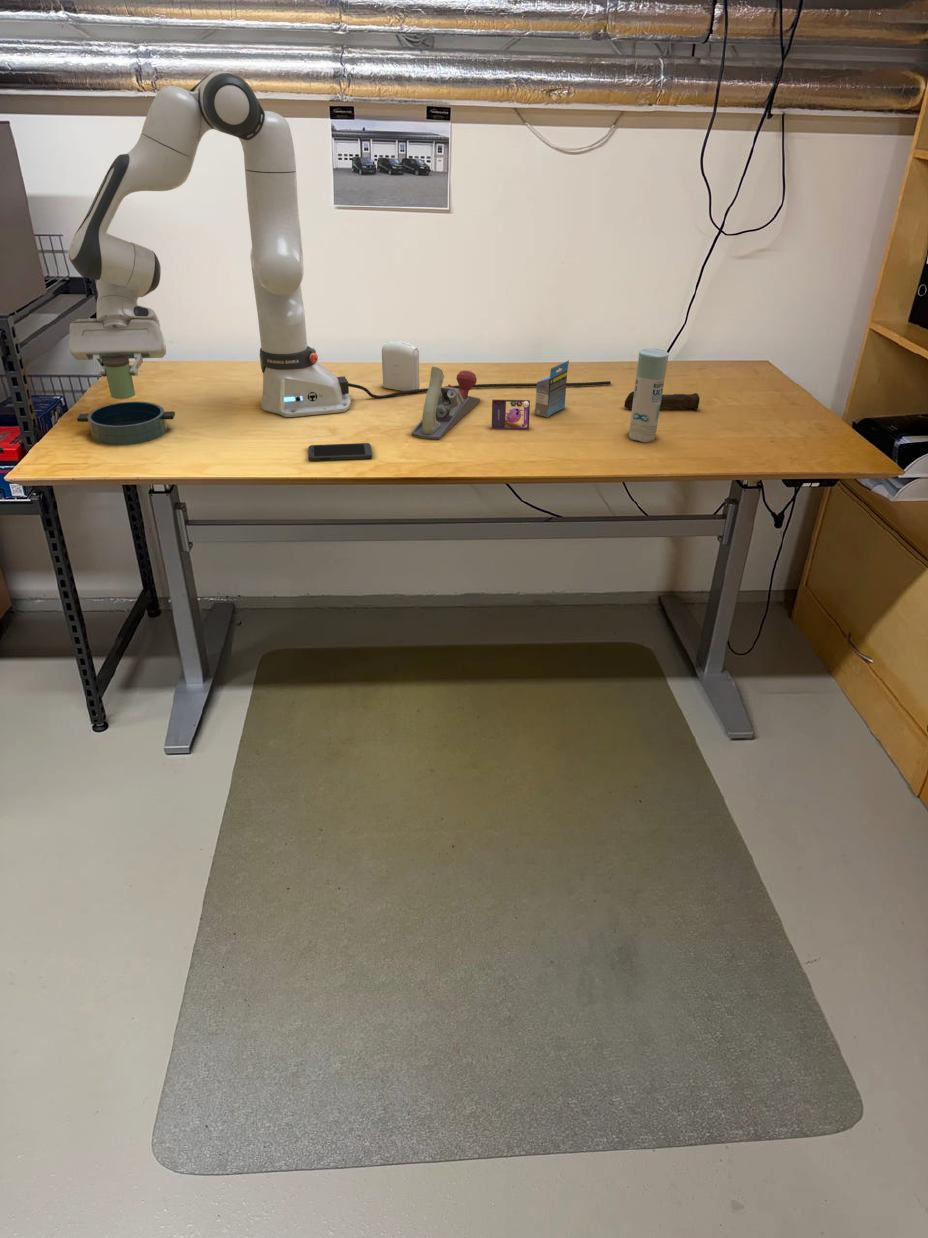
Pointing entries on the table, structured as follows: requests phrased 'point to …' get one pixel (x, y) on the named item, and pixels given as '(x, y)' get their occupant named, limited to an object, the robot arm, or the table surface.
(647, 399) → the spray paint can
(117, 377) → the canister
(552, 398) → the tape cartridge
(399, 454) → the table surface
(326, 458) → the cell phone
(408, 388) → the photo printer
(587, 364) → the table surface
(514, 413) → the purple cartoon box
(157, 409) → the pot
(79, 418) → the pot ear handles
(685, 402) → the hand tool
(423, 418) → the hand plane
